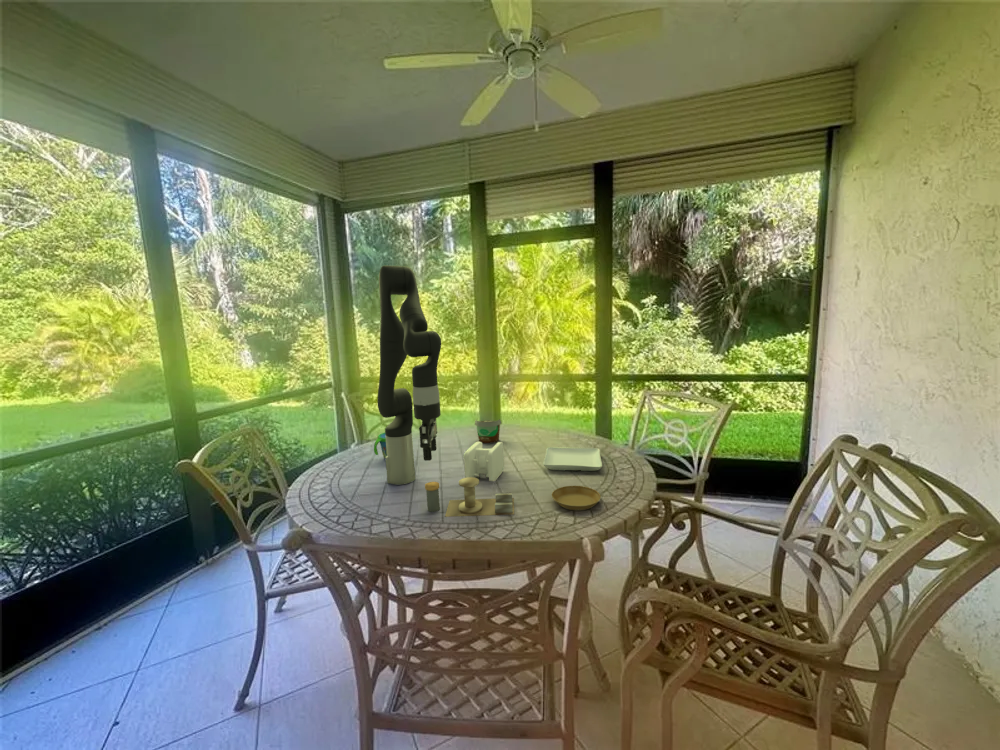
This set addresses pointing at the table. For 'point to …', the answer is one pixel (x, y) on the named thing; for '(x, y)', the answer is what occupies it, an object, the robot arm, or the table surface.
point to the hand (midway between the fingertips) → (430, 455)
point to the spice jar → (432, 496)
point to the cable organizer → (484, 461)
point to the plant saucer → (576, 497)
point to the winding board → (485, 506)
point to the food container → (488, 431)
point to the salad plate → (572, 458)
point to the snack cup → (383, 445)
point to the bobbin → (469, 496)
